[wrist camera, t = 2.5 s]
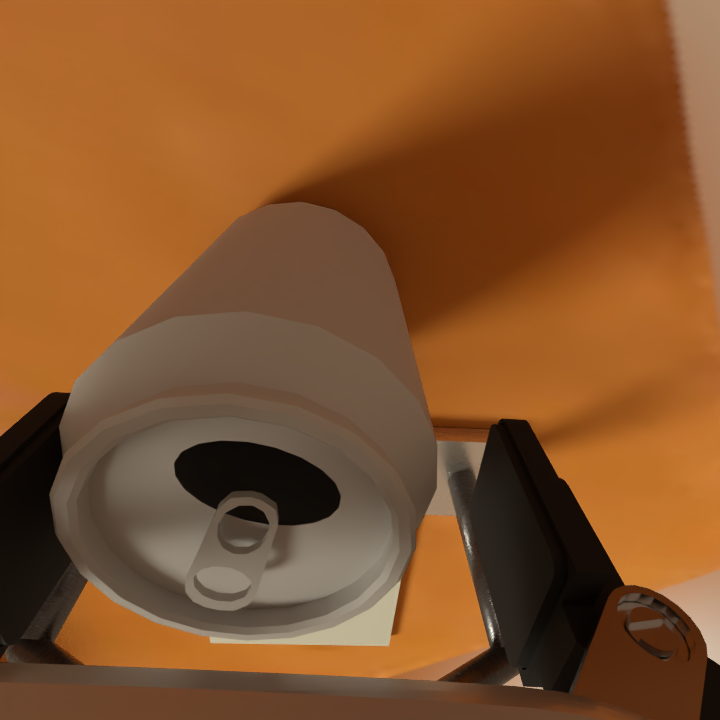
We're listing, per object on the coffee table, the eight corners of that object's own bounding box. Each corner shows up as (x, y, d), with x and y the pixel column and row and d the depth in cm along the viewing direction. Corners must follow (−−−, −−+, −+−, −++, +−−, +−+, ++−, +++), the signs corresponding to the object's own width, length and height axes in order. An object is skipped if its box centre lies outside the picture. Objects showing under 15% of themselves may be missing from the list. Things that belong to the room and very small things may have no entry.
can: (426, 243, 17) (548, 461, 7) (353, 393, 20) (356, 693, 10) (235, 162, 15) (-3, 278, 5) (190, 339, 19) (-7, 627, 8)
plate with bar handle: (87, 412, 21) (-260, 816, 9) (506, 430, 22) (691, 813, 10) (110, 489, 23) (-138, 883, 11) (485, 501, 24) (613, 876, 12)
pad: (191, 511, 24) (187, 520, 23) (409, 518, 25) (410, 527, 24) (213, 633, 30) (210, 642, 29) (388, 636, 31) (388, 645, 30)
